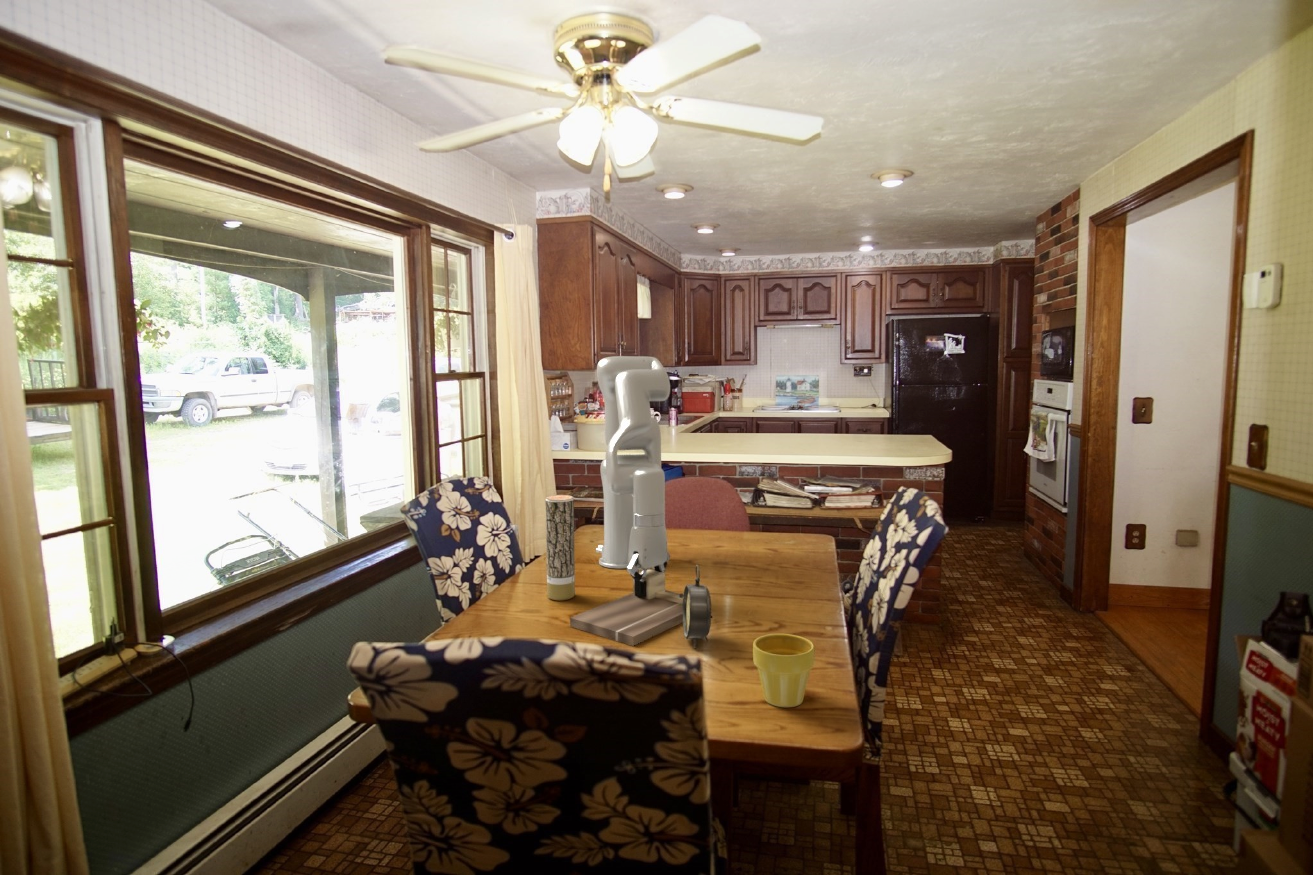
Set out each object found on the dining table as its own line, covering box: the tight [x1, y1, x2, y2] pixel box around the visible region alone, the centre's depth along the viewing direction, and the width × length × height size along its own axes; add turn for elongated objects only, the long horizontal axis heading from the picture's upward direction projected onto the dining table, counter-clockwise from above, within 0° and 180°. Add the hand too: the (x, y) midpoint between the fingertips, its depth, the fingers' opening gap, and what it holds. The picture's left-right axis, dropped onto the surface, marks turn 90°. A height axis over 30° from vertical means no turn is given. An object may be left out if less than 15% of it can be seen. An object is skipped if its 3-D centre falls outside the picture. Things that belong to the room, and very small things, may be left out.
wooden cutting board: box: [569, 589, 684, 647], centre depth 160 cm, size 18×28×2 cm, turn 142°
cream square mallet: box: [632, 569, 684, 604], centre depth 168 cm, size 13×6×5 cm, turn 52°
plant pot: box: [752, 633, 816, 708], centre depth 121 cm, size 10×10×10 cm
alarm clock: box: [682, 564, 713, 651], centre depth 145 cm, size 11×5×16 cm, turn 5°
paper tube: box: [545, 494, 576, 601], centre depth 174 cm, size 7×7×25 cm
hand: (649, 592), depth 170 cm, fingers closed on cream square mallet, 6 cm apart
